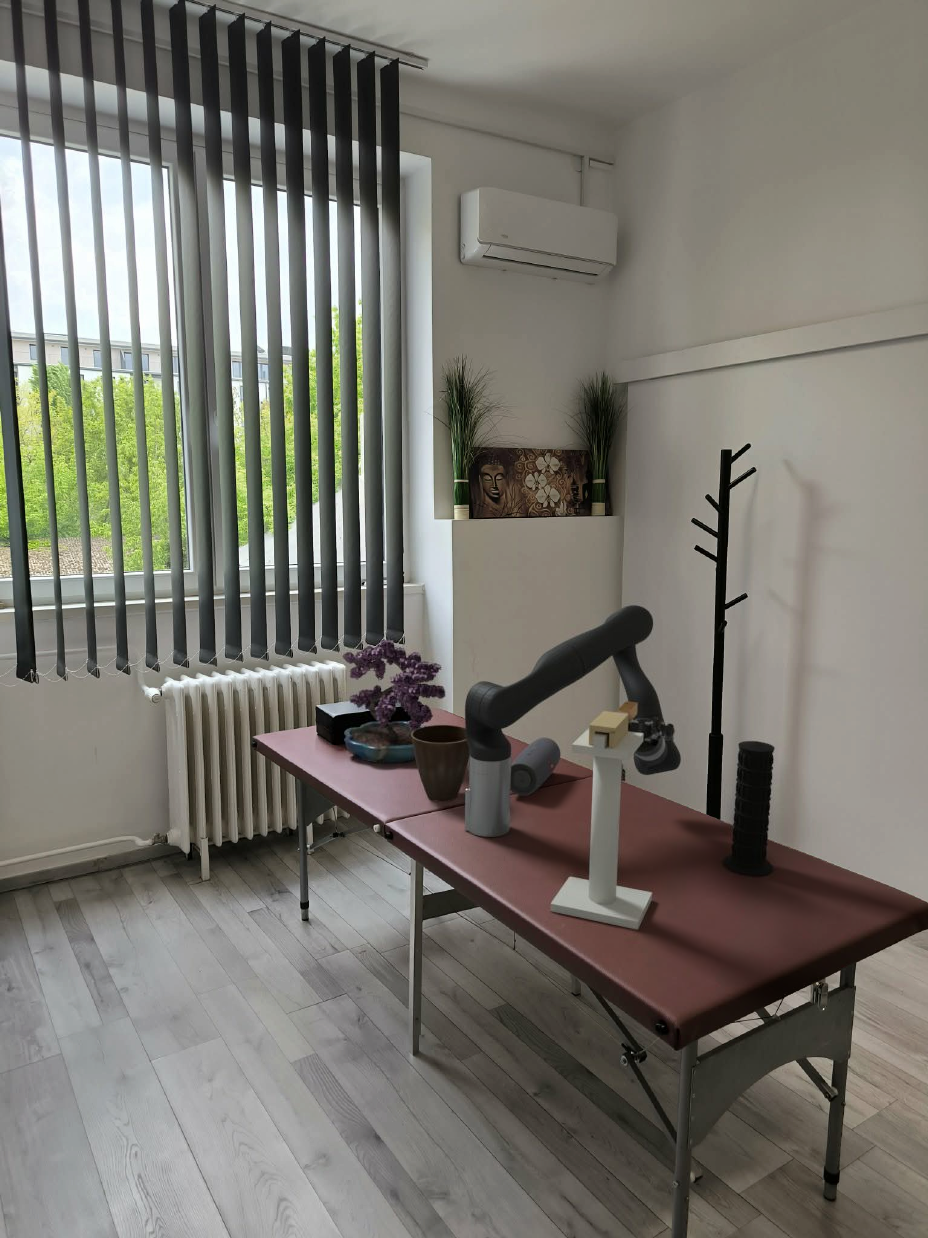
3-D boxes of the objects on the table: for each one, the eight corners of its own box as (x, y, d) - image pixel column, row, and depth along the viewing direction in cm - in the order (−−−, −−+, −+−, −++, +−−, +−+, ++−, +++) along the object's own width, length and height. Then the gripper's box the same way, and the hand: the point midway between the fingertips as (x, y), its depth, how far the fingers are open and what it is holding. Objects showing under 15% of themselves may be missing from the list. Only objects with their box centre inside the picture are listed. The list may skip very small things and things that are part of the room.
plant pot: (450, 812, 209) (451, 746, 206) (399, 799, 217) (399, 735, 214) (483, 793, 221) (484, 731, 219) (433, 781, 229) (433, 721, 226)
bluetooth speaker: (539, 803, 215) (540, 763, 214) (502, 798, 218) (503, 759, 217) (562, 774, 236) (563, 737, 235) (528, 769, 239) (529, 733, 238)
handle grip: (773, 880, 176) (774, 859, 186) (783, 751, 172) (783, 737, 181) (721, 872, 179) (724, 852, 189) (729, 745, 175) (731, 731, 184)
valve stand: (550, 911, 163) (556, 722, 157) (569, 883, 174) (575, 706, 168) (637, 929, 157) (647, 733, 151) (651, 900, 167) (661, 716, 161)
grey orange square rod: (592, 748, 154) (592, 735, 153) (625, 712, 176) (626, 701, 176) (605, 749, 153) (605, 736, 153) (637, 714, 176) (637, 702, 175)
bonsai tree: (325, 745, 258) (324, 634, 252) (409, 732, 271) (410, 627, 266) (377, 782, 228) (376, 657, 223) (468, 766, 242) (470, 648, 236)
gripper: (615, 719, 196) (601, 697, 182) (681, 727, 191) (671, 705, 177) (610, 752, 194) (595, 733, 180) (676, 761, 188) (666, 742, 174)
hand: (633, 719), depth 178 cm, fingers open, 8 cm apart
